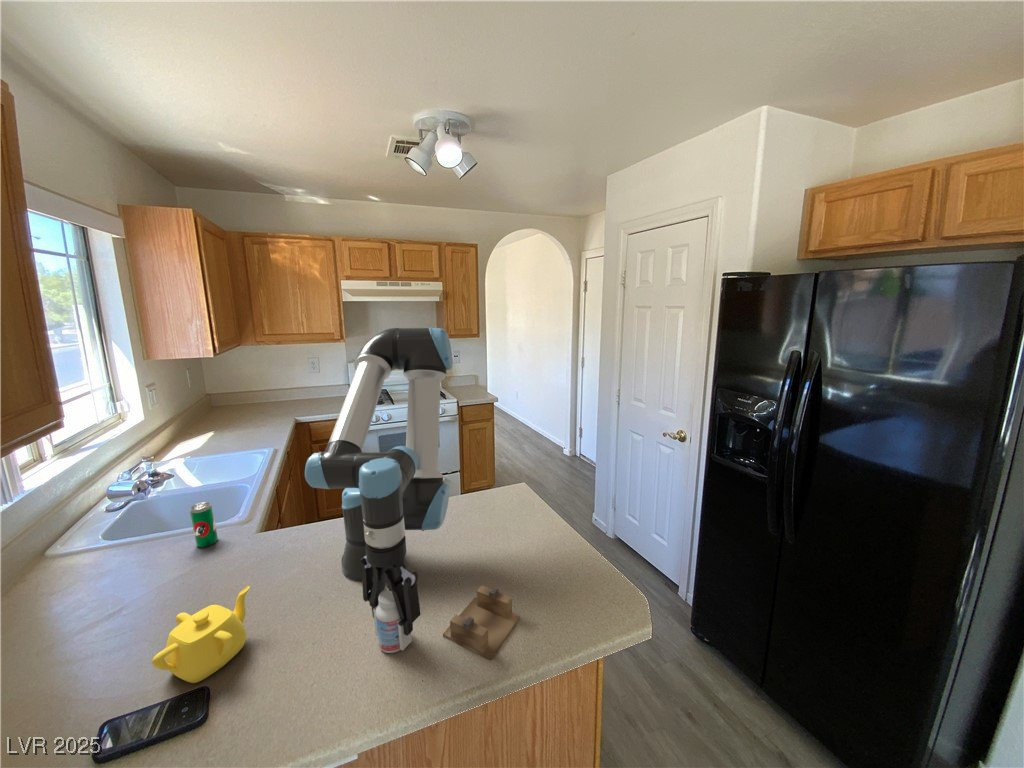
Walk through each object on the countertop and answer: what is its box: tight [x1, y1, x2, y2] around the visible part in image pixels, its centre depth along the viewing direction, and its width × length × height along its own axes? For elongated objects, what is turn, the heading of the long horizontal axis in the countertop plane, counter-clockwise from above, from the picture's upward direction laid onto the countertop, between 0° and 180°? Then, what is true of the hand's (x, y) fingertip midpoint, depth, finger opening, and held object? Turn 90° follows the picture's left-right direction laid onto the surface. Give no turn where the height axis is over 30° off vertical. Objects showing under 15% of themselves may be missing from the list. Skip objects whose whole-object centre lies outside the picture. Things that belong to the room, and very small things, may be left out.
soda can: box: [189, 501, 219, 548], centre depth 116 cm, size 5×5×12 cm
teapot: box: [151, 585, 251, 684], centre depth 79 cm, size 14×13×10 cm
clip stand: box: [442, 585, 521, 661], centre depth 87 cm, size 12×12×6 cm
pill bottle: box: [376, 587, 401, 654], centre depth 83 cm, size 6×6×11 cm
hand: (393, 638), depth 84 cm, fingers closed on pill bottle, 6 cm apart
